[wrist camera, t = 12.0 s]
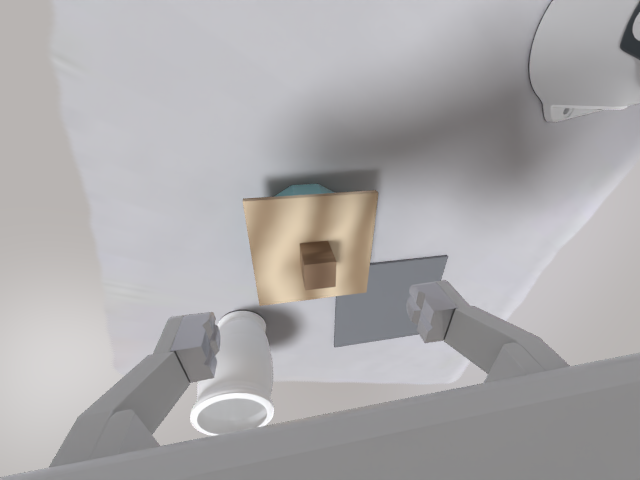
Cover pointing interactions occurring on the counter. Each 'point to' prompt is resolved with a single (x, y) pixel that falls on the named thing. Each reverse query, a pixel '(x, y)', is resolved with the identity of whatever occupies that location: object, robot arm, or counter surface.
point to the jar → (237, 379)
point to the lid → (310, 244)
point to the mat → (384, 301)
